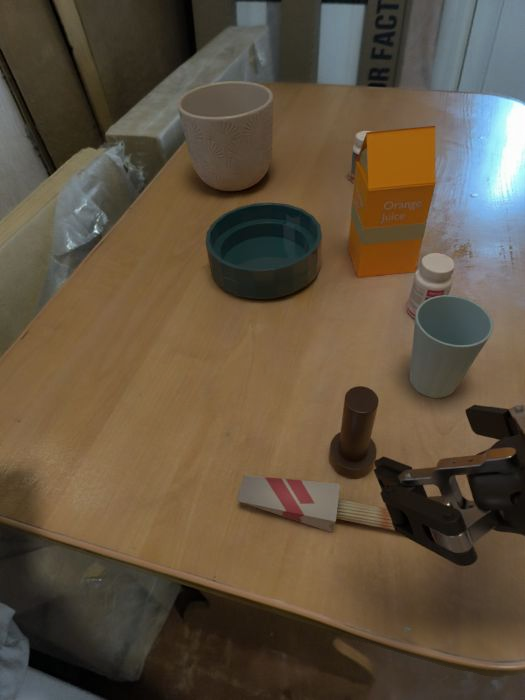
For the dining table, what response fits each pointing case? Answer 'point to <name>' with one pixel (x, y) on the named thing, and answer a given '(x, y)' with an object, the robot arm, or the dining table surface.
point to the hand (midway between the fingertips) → (428, 444)
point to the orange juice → (391, 200)
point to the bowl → (264, 250)
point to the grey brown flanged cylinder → (355, 434)
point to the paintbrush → (309, 502)
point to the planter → (228, 132)
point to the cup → (446, 343)
